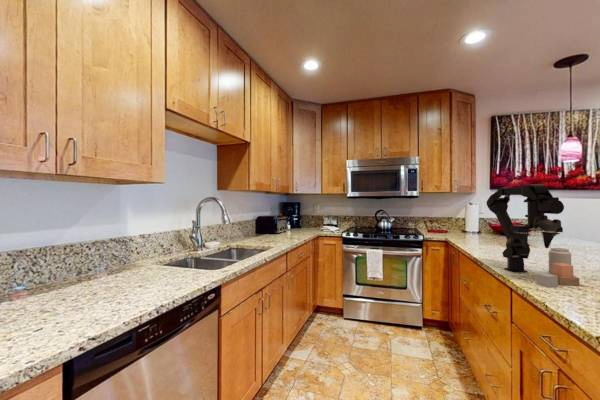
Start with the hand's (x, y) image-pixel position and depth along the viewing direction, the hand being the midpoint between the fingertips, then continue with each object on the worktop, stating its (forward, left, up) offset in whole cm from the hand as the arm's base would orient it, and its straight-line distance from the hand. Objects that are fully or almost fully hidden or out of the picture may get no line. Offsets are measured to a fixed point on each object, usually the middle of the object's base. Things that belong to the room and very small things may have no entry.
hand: (536, 248), depth 122 cm
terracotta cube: (+8, +4, -10) cm, 13 cm away
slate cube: (+11, -5, -13) cm, 18 cm away
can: (-4, +14, -13) cm, 20 cm away
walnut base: (+8, +4, -13) cm, 16 cm away
